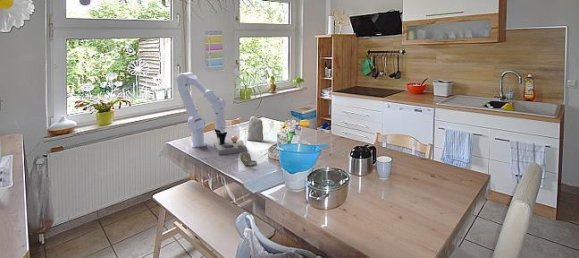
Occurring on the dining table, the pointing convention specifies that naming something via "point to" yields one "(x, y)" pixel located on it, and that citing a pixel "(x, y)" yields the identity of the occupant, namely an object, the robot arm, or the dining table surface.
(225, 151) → the hole plate
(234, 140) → the terracotta ball
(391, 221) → the dining table surface
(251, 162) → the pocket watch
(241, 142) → the cream ball
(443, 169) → the dining table surface
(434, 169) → the dining table surface
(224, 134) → the robot arm
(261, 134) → the decorative stone
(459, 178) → the dining table surface
